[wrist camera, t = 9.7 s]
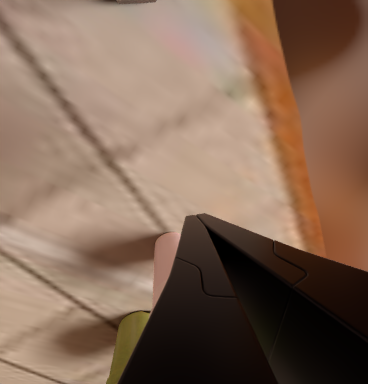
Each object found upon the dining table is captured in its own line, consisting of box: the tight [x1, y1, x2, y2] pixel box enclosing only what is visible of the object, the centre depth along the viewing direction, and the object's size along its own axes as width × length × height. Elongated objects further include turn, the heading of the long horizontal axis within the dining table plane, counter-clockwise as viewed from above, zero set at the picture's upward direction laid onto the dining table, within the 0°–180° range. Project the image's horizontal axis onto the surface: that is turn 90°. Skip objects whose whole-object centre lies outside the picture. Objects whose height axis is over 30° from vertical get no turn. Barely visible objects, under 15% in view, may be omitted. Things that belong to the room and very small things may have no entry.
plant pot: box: [106, 311, 150, 384], centre depth 29 cm, size 9×9×9 cm
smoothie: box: [149, 232, 181, 317], centre depth 21 cm, size 6×6×14 cm
